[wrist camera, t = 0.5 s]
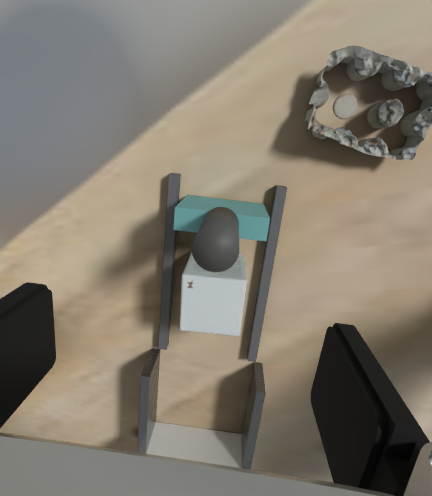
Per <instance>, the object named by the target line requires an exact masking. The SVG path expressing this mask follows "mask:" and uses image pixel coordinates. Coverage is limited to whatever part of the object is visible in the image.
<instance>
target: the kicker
mask: <svg viewBox="0 0 432 496" xmlns="http://www.w3.org/2000/svg"><path fill="white" fill-rule="evenodd" d="M269 222H270V217H269V215H268V213H267V211H266V208H265V206H264V204H259V203H251V202H242V201H234V200H226V199H218V198H209V197H201V196H193V195H187V196H186V197H185V198H184V199H183V200H182V201H181V202H180V203H179V204H178V205H177V206H176V207H175V215H174V230H178V231H186V232H194V233H197V235H196V237H195V239H194V241H193V244H192V255H193V258H194V260H195V262H196V263H197V264H198V265H199V266H200V267H201V268H203V269H204V270H207V271H209V272H222V271H225V270H227V269H229V268H231V267H232V266H233V265H234V264H235V262H236V261H237V258H238V255H239V238H243V239H251V240H259V241H266V240H267V234H268V228H269Z"/></svg>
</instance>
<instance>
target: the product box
mask: <svg viewBox="0 0 432 496" xmlns="http://www.w3.org/2000/svg"><path fill="white" fill-rule="evenodd" d="M246 285H247V277H246V265H245V258H244V255H243V254H239V255H238V258H237V261H236V262H235V264H234V265H233V266H232V267H231V268H229V269H227V270H225V271H222V272H209V271H207V270H204V269H203V268H201V267H200V266H199V265H198V264H197V263H196V262H195V260H194V258H193V255H192V252H191V254H190V257H189V259H188V262H187V264H186V267H185V269H184V271H183V274H182V282H181V305H180V330H183V331H193V332H202V333H212V334H222V335H231V336H240V332H241V324H242V317H243V309H244V301H245V293H246Z"/></svg>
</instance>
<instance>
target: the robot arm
mask: <svg viewBox="0 0 432 496" xmlns="http://www.w3.org/2000/svg"><path fill="white" fill-rule="evenodd" d="M55 359H56V348H55V332H54V316H53V300H52V292H51V290H49V289H48V288H47V286H46V285H44V284H36V283H28V282H27V283H25V284H23V285H21V286H20V287H18V288H17V289H15V290H14V291H12V292H10V293H9V294H7V295H6V296H4V297H3V298H1V299H0V428H1V427H2V426H3V425H4V423H5V422H6V421H7V420H8V419H9V417H10V416H11V415H12V414H13V413H14V412H15V410H16V409H17V408H18V407H19V406H20V405H21V403H22V402H23V401H24V400H25V399H26V397H27V396H28V395H29V394H30V393H31V392H32V390H33V389H34V388H35V387H36V386H37V384H38V383H39V382H40V381H41V380H42V379H43V377H44V376H45V375H46V374H47V373H48V372H49V370H50V369H51V368H52V367H53V365H54V363H55ZM311 404H312V408H313V411H314V415H315V418H316V422H317V425H318V429H319V432H320V436H321V440H322V443H323V447H324V450H325V454H326V457H327V461H328V464H329V468H330V471H331V475H332V478H333V482H334V483H331V482H325V481H318V480H312V479H306V478H300V477H294V476H289V475H282V474H276V473H269V472H263V471H256V470H250V469H243V468H237V467H230V466H224V465H218V464H211V463H205V462H198V461H192V460H185V459H178V458H172V457H165V456H158V455H152V454H145V453H138V452H131V451H125V450H118V449H111V448H104V447H97V446H91V445H84V444H77V443H70V442H63V441H56V440H49V439H42V438H35V437H28V436H21V435H14V434H7V433H0V496H432V442H429V440H428V438H427V437H426V435H425V434H424V432H423V431H422V429H421V427H420V426H419V424H418V423H417V421H416V420H415V418H414V417H413V415H412V414H411V412H410V410H409V409H408V407H407V406H406V404H405V403H404V401H403V400H402V398H401V397H400V395H399V394H398V392H397V390H396V389H395V387H394V386H393V384H392V383H391V381H390V380H389V378H388V377H387V375H386V374H385V372H384V370H383V369H382V367H381V366H380V364H379V363H378V361H377V360H376V358H375V357H374V355H373V354H372V352H371V350H370V349H369V347H368V346H367V344H366V343H365V341H364V340H363V338H362V337H361V335H360V334H359V332H358V330H357V329H356V327H355V326H354V325H347V324H340V323H335V324H334V325H333V327H328V329H327V331H326V335H325V339H324V343H323V347H322V351H321V355H320V359H319V363H318V367H317V371H316V374H315V378H314V382H313V386H312V390H311Z"/></svg>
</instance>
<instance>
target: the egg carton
mask: <svg viewBox="0 0 432 496" xmlns="http://www.w3.org/2000/svg"><path fill="white" fill-rule="evenodd" d="M339 62H342V63H345V64H347V66H346V73H347V76H348V77H349V78H350V79H351V80H352V81H356V82H357V81H362V80H364V79H366V78H368V77H370V76H373V75H374V74H376V73H377V72H378V73H382V84H383V87H384V88H385V89H387V90H389V91H396V90H399V89H402V88H405V87H411V86H414V85H415V83H417V87H416V92H417V95H418V97H419V98H420V99H422V100H423V102H422V105H421V107H420V109H419V110H417V111H415V112H412V113H410V114H408V115H406V116H405V117H404V118H403V120H402V122H401V131H402V133H403V134H404V135H405V136H407V138H408V139H407V141H406V143H405V146H404V147H403V148H396V149H393V150H392V151H391V152H390V153H389V151H388V148H387V144H386V143H385V142H384V141H383V140H382V139H381V138H379V137H376V138H369V139H364V140H361V141H360V142H359V143H358V141H357V137H356V136H353V135H352V133H351V131H350V130H345V128H344V127H340V128H337V129H335V130H334V129H332V128H329V127H327V126H325V125H322V124H321V123H319V122H318V121H317V120H316V118H315V113H316V109H317V108H319V107H321V106H322V105H324V104H325V103H326V101H327V100H328V98H329V86H328V85H327V83H326V82H325V81H324V80H323V78H322V75H323V73H324V72H327V71H329V70H331V69H332V68H333V67H334V66H335V65H337V64H338V63H339ZM316 84H317V85H319V87H318V88H317V89H315V90H314V92H313V95H312V97H311V100H310V103H309V104H312V108H311V109H310V110H308V111H307V113H306V116H305V120H304V121H305V122H307V123H308V124H309V126H308V130H310V129H311V130H312V135H313V136H314V137H316V138H319V139H322V140H324V139H326V138H327V137H330V138H332V139H335V140H337V141H339V143H340V144H343V145H346V146H349V147H352V148H354V149H356V150H358V151H360V152H363V153H365V154H369V155H372V156H379V157H385V158H394V159H398V160H401V159H407V160H412V159H413V158H414V157H415V155H416V153H415V152H416V149H417V147H418V145H419V144H420V142H422V141H423V140H424V138H425V136H426V132H427V130H428V128H429V127H430V125H431V124H432V72H426V71H423V70H421V69H420V68H418V67H413V66H411V65H410V64H409V63H407V62H403V61H399V60H395V59H393V58H390V57H388V56H384V55H380V54H378V53H375V52H373V51H371V50H368V49H365V48H363V47H359V46H349V47H345V48H342V49H339V50H336V51H332V52H331V53H330V55H329V57H328V61H327V66H326V67H325V68H324V69H323V70H322V71H321V72H320V73H319V76H318V79H317V81H316ZM357 107H358V102H357V99H356V98H355V97H354V96H353V95H351V94H348V93H346V94H343V95H341V96H339V97H338V98H337V99H336V100H335V102H334V106H333V108H334V113H335V115H336V116H337V117H338V118H340V119H348V118H350V117H352V116H353V115H354V114H355V113H356V111H357ZM403 114H404V110H403V104H402V103H401V102H400V100H398V99H390V100H385V101H382V102H379V103H377V104H375V105H373V106H372V107H371V108H370V110H369V111H368V114H367V121H368V123H369V124H370V125H371V126H372V127H373V128H385V127H391V126H393V125H395V124H396V123H398V121H399V120H400V119H401V117H402V116H403Z"/></svg>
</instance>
